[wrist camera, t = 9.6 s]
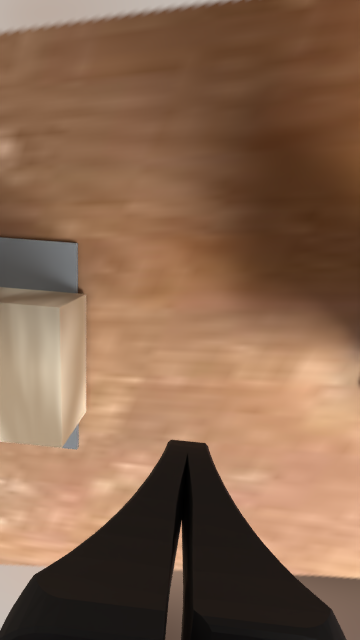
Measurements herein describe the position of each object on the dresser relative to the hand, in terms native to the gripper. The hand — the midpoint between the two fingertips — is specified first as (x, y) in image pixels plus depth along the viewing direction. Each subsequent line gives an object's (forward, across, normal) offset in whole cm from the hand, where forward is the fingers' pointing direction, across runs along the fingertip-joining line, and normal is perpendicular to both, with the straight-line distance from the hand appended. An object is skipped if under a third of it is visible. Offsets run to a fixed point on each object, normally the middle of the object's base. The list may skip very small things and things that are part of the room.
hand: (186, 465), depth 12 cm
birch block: (+8, +7, 0) cm, 10 cm away
